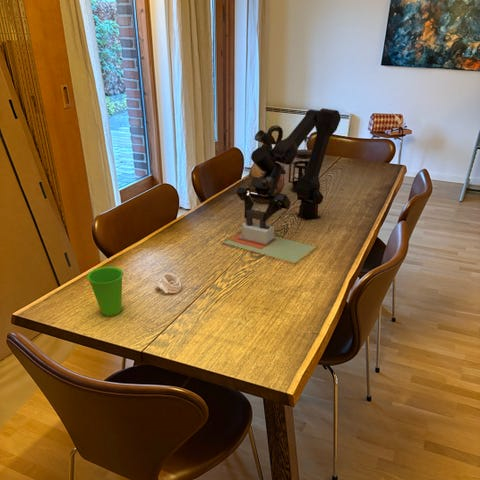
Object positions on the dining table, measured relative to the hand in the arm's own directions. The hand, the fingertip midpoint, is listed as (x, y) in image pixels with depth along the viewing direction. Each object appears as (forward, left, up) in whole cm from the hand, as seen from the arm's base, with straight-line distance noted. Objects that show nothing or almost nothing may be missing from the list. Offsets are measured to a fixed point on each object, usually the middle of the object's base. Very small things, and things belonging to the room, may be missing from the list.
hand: (254, 220), depth 160 cm
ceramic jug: (-26, -39, -8) cm, 48 cm away
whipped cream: (+37, +19, -8) cm, 42 cm away
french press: (-46, -44, -8) cm, 64 cm away
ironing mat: (-4, +5, -8) cm, 10 cm away
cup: (+55, +24, -8) cm, 61 cm away
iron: (-1, -1, -8) cm, 8 cm away
